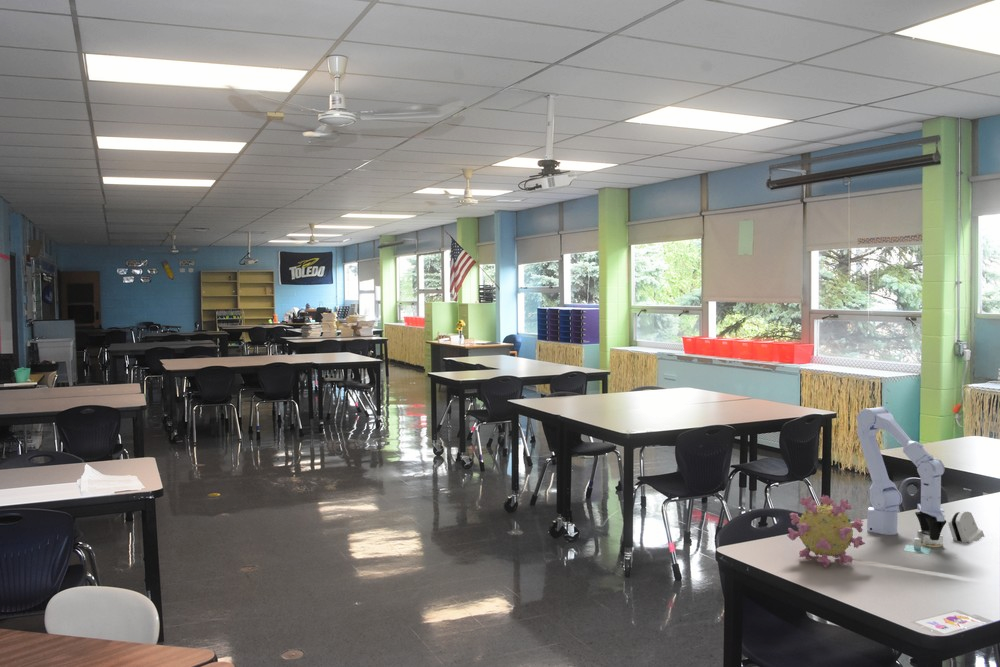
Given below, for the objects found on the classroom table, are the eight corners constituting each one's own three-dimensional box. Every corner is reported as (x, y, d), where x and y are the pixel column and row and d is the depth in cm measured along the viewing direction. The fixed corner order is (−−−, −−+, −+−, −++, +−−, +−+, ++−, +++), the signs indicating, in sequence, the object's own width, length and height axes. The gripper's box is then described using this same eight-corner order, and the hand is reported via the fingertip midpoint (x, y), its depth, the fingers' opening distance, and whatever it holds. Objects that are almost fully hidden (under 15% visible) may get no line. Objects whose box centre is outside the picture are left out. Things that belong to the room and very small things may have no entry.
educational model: (791, 546, 253) (791, 487, 252) (866, 555, 243) (866, 494, 242) (783, 568, 232) (784, 503, 231) (865, 579, 222) (865, 512, 222)
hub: (917, 546, 251) (917, 535, 251) (919, 540, 256) (919, 530, 256) (941, 549, 247) (941, 538, 247) (943, 544, 253) (943, 533, 252)
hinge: (971, 546, 251) (960, 516, 253) (956, 548, 254) (945, 518, 256) (984, 535, 263) (973, 506, 265) (969, 537, 266) (959, 508, 268)
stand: (903, 552, 245) (903, 540, 245) (906, 546, 251) (906, 534, 250) (928, 556, 241) (928, 543, 241) (930, 550, 247) (930, 537, 247)
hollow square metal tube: (925, 544, 249) (925, 535, 249) (917, 539, 255) (917, 530, 255) (943, 544, 249) (943, 535, 248) (934, 539, 254) (934, 530, 254)
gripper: (954, 501, 243) (954, 544, 244) (933, 491, 258) (932, 530, 258) (931, 501, 244) (931, 543, 245) (911, 490, 259) (910, 530, 259)
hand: (930, 537), depth 252 cm, fingers closed on hollow square metal tube, 6 cm apart
